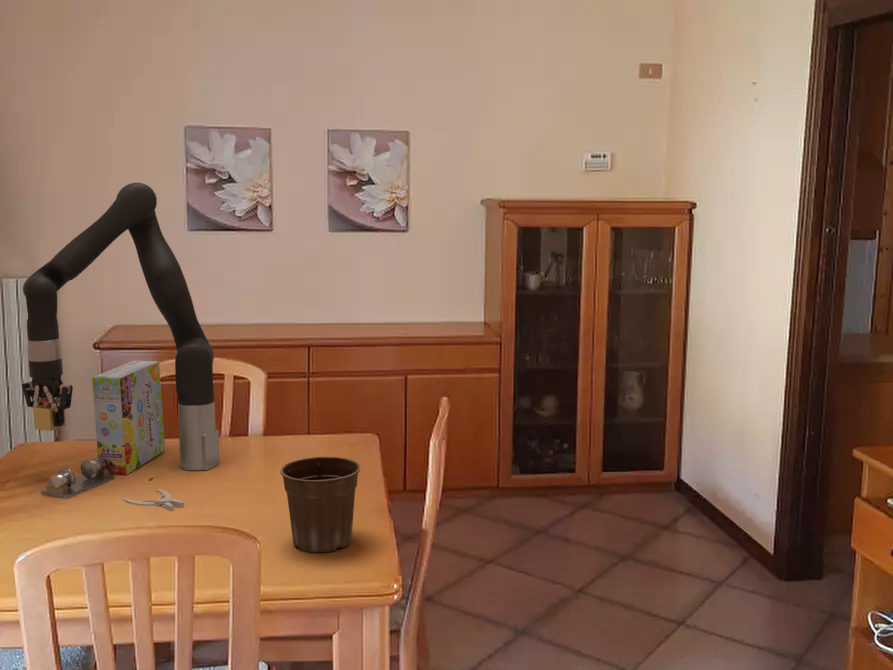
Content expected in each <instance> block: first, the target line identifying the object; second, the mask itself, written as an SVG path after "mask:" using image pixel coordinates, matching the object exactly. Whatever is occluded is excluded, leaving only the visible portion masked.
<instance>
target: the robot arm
mask: <svg viewBox="0 0 893 670" xmlns="http://www.w3.org/2000/svg"><path fill="white" fill-rule="evenodd" d="M118 191H119V192H118V193H117V195H116V197H115V200H114V201H113V203H111V205H109V208H108V209H107V210H105V212H104V213H103V214H102V215H101V216H100V217H99V218H98V219H97V220H96V221H94V222H93V223H92V224H91V225H90V226H88V227H87V228H86V229H84V230H83V231H81V232H80V233H79V234H78V235H77V236H75V237H74V238H73V239H72V240H71V241H70V242H68V243H67V244H66V245H65V246H64V247H63V248H62V249H61V250H60V251H58V252H57V253H56V254H55V255H54V256H53V258H51V259H50V260H49V261H48V262H46V263H45V264H44V265H42V266H41V267H40V268H38V269H37V270H36V271H35V272H33V273H32V274H31V275H30V276H29V277H28V278H27V279H26V280H25V281H24V283H23V287H22V291H23V294H24V297H25V303H26V312H27V313H26V314H27V319H26V335H27V336H26V337H27V362H28V374H29V377H30V378H31V381H28V382H24V383H22V384H21V388H22V392H23V397H24V399H25V403H26V406H27V407H28V408H32V409H33V407H36V406H39V405H43V404H46V403H41V400H42V399H45V398H47V399H48V400H49V403H50V404H52V406H53V409H54V411H55V412H54V420H55V426H56V427H59V426H62V425H63V423H64V410H68V409H71V406H72V405H71V404H72V397H73V389H74V387H73V385H72V384H69V385H66V384H64V383H63V381H62V375H63V374H64V373H63V358H62V346H61V342H60V334H59V322H58V317H57V316H58V291H59V290H60V289H62V288H63V286H65V285H66V284H67V283H68V282H70V281H72V280H75V279H76V278H77V277H78V276H80V274H82V273H83V272H84V271H85V270H86V269H87V268H88V267H89V266H91V264H92V263H94V261H95V260H96V259H98V258H99V256H100V255H101V254H102V253H103V252H104V251H105V250H106V249H107V248H108V247H109V246H110V245H112V243H114V241H116V240H117V238H119V237H120V236H122V235H123V233H125V232H126V231H128V232H129V234H130V236H131V238H132V240H133V243H134V247H135V249H136V253H137V257H138V260H139V264H140V267H141V270H142V273H143V276H144V280H145V282H146V285H147V288H148V290H149V293H150V295H151V297H152V300H153V301H154V303H155V305H156V307H157V308H158V310H159V312H160V314H161V315H162V316H163V318H164V320H165V321H166V323H167V324H168V327H169V329H170V331H171V334H172V338H173V340H174V343H175V348H176V353H175V354H176V355H175V359H174V366H175V367H174V369H175V387H176V388H175V389H176V394H177V395H176V396H177V406H178V407H177V410H178V415H177V416H178V436H179V437H178V439H179V441H178V442H179V462H180V463H179V466H180V469H183V470H186V471H208V470H210V469H212V468H214V467H216V466H219V465H220V464H221V463H220V461H221V460H220V433H219V432H220V431H219V429H217V428H216V408H215V407H216V406H215V389H214V375H213V374H214V373H213V372H214V371H213V370H214V369H213V366H214V365H213V364H214V359H215V355H214V351H213V348H212V346H211V344H210V343H209V340H208V339H207V337H206V334H205V333H204V331H203V328H202V327H201V325H200V323H199V320H198V317H197V314H196V311H195V306H194V303H193V299H192V296H191V292H190V290H189V287H188V283H187V280H186V278H185V275H184V273H183V271H182V268H181V265H180V263H179V261H178V259H177V258H176V255H175V253H174V251H172V249H171V247H170V245H169V244H168V242H167V241H166V239H165V237H164V234H163V232H162V229H161V227H160V224H159V220H158V217H157V214H156V208H157V203H158V201H157V200H158V199H157V195H156V193H155V191H154V190H153V188H151V186H149V185H148V184H145V183H142V182H132V183H128V184H127V185H124V187H122V188H121V189H120V190H118ZM54 398H55V399H54ZM57 404H58V405H59V406H58V405H57Z"/></svg>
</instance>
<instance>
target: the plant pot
mask: <svg viewBox="0 0 893 670" xmlns="http://www.w3.org/2000/svg"><path fill="white" fill-rule="evenodd" d="M360 471H361V465H360V463H358V462H357V461H355V460H353V459H350V458H346V457H339V456H312V457H307V458H305V457H304V458H302V459H297V460H296V459H295V460H292V461H290V462H287V463H286V464H283V466H281V468H280V475H281V476H282V479H283V485H284V486H283V487H284V490H285V492H286V496H287V504H288V512H289V519H290V528H291V535H292V537H291V538H292V543H293V545H294V547H295V548H298V549H300V551H303V552H310V553H314V552H318V553H320V552H322V553H327V552H328V553H330V552H335V551H336V550H337V549H338V548H341V549H344V548H345V547H347V546H349V545H350V544H351V542H352V540H353V539H352V538H353V523H354V522H353V521H354V508H355V498H356V497H355V495H356V489H357V487H358V476H359V473H360Z"/></svg>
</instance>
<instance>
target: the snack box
mask: <svg viewBox="0 0 893 670" xmlns="http://www.w3.org/2000/svg"><path fill="white" fill-rule="evenodd" d="M91 380H92V381H91V384H92V393H93V394H92V395H93V406H94V408H93V409H94V419H95V420H94V421H95V433H96V444H97V445H96V447H97V448H96V449H97V459H98V458H102V459H103V460H104V461H105V463H106V469H109V475H123V476H128V475H129V474H131V473H132V472H134V471H135V470H137V469H138V468H140V467H141V466H143V465H145V464H146V463H148V462H149V461H151V460H152V459H154V458H156V457H157V456H158V455H159V456H160V454H162V453H163V452H165V451H166V443H165V442H166V441H165V440H166V439H165V428H164V427H165V426H164V413H163V400H162V387H161V386H162V385H161V370H160V361H159V360H158V361H156V360H150V361H149V360H132V361H129V362H126V363H124V364H122V365H119V366H117V367H115V368H114V367H113V368H112V369H109V370H107V371H105V372H102V373H100V374H99V373H98V374H97V375H95V376H92V377H91Z"/></svg>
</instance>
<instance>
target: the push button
mask: <svg viewBox="0 0 893 670" xmlns="http://www.w3.org/2000/svg"><path fill="white" fill-rule="evenodd" d="M54 399H56V397H55V398H54ZM41 403H45V404H43V405H39V406H36V407H33V408H32V412H33V413H32V414H33V423H34V430H36V431H37V430H39V431H48V432H52V431H55V430H57V429H58V430H59V429H60V428H65V427H66V426H67V425H66V411H65V410H66V409H65V410H64V423H63V425H62V426H59V427H56V426H55V420H54V412H55V411H54V409H53V406H52V404H50V403H49V400H48V399H47V398H45V399H42V400H41ZM57 405H58V403H57ZM58 406H59V405H58Z"/></svg>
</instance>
